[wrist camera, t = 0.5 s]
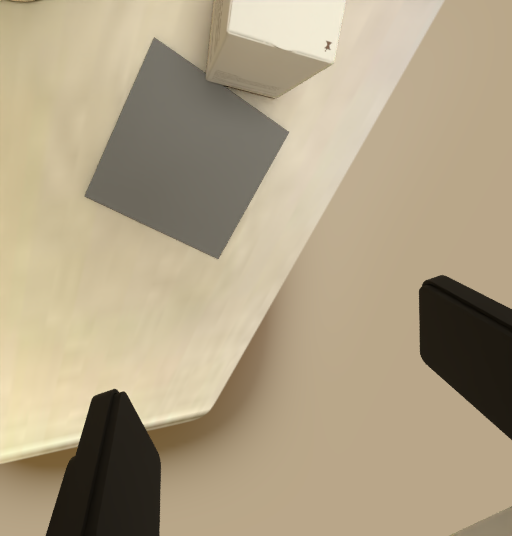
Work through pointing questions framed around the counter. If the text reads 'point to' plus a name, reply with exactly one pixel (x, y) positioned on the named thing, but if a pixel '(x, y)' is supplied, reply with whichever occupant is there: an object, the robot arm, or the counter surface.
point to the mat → (185, 154)
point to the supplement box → (272, 43)
